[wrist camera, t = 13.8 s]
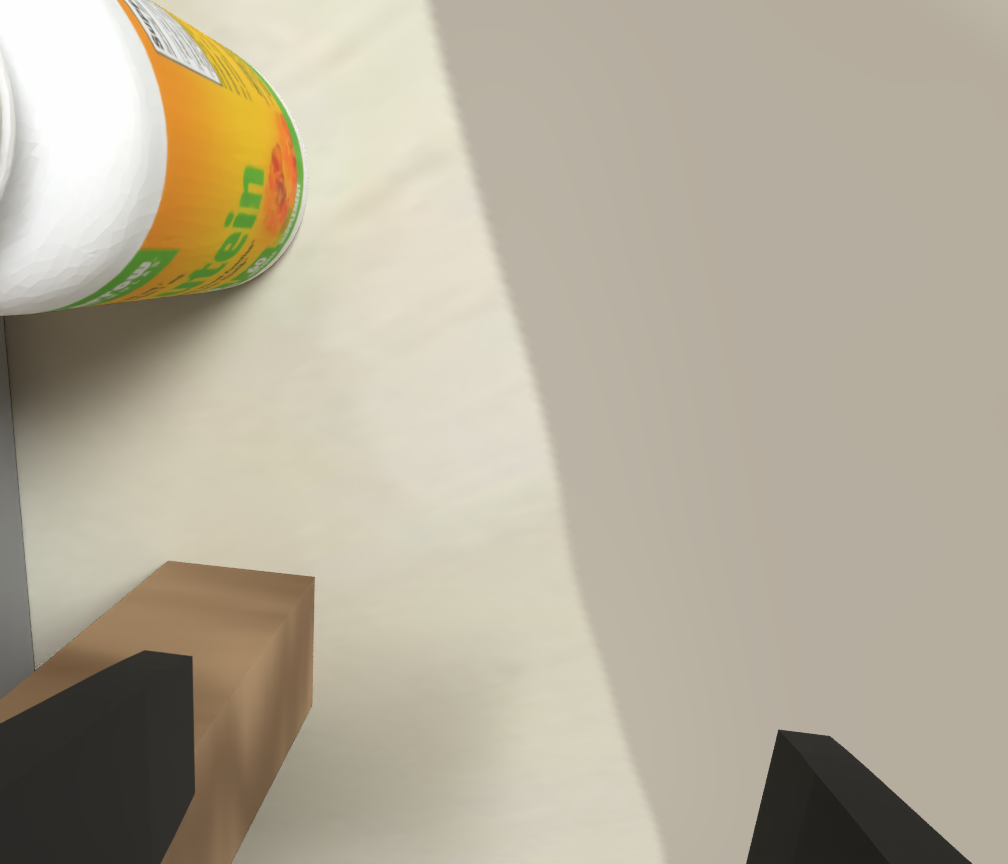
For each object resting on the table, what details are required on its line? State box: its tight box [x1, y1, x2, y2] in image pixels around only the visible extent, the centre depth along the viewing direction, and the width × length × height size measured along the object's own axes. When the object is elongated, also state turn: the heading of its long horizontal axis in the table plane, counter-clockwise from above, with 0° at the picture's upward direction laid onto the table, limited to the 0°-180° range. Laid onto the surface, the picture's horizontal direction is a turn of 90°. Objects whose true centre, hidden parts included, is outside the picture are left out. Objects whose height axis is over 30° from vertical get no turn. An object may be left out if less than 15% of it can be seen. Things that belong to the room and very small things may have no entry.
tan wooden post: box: [0, 561, 315, 864], centre depth 15 cm, size 4×4×9 cm
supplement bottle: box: [0, 0, 308, 316], centre depth 11 cm, size 5×5×10 cm
